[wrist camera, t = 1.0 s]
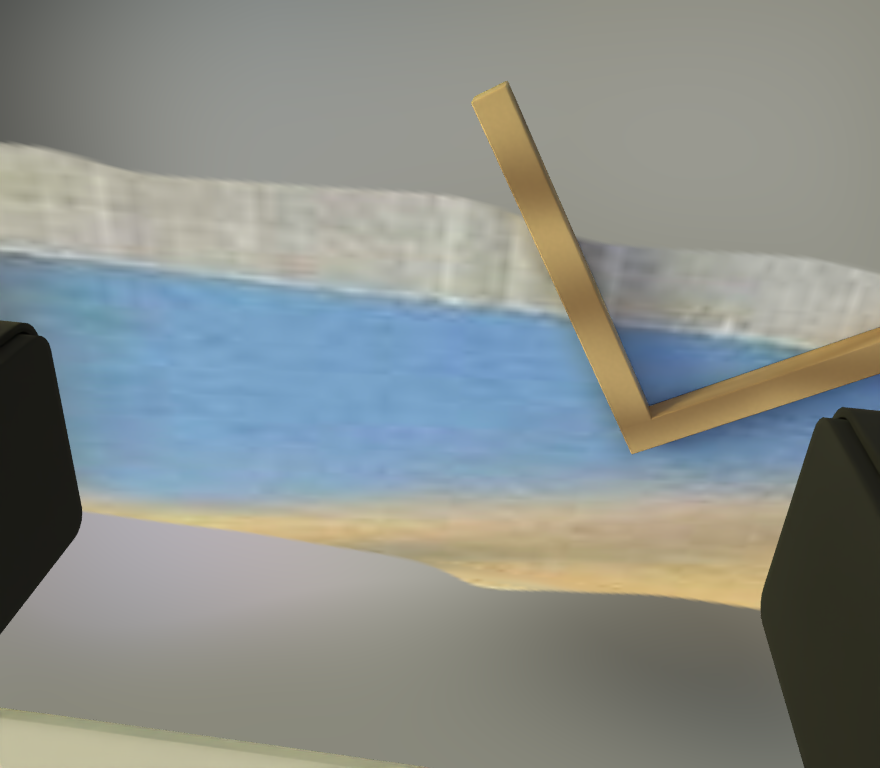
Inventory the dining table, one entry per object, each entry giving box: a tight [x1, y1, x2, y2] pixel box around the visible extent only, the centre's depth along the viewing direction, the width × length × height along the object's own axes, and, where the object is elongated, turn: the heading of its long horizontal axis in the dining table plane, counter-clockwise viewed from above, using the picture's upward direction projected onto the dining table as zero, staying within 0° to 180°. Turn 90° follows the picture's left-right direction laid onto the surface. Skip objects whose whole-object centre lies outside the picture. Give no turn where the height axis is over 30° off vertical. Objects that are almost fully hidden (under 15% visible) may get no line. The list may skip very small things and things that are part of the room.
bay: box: [471, 81, 880, 454], centre depth 33 cm, size 18×25×1 cm
